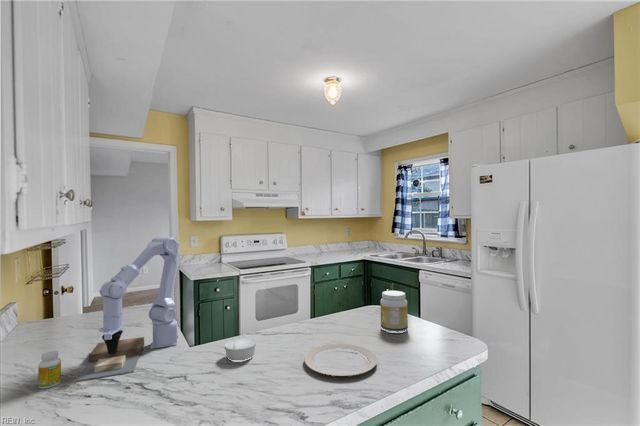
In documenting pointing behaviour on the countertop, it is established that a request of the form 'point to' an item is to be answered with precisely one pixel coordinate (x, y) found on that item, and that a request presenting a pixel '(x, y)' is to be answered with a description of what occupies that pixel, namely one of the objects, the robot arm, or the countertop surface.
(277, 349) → the countertop surface
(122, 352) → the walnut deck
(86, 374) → the grey flat slab
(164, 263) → the robot arm
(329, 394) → the countertop surface
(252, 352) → the ramekin
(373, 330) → the countertop surface
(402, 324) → the supplement tub
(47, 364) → the supplement bottle
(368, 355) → the plate
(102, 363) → the birch tile
